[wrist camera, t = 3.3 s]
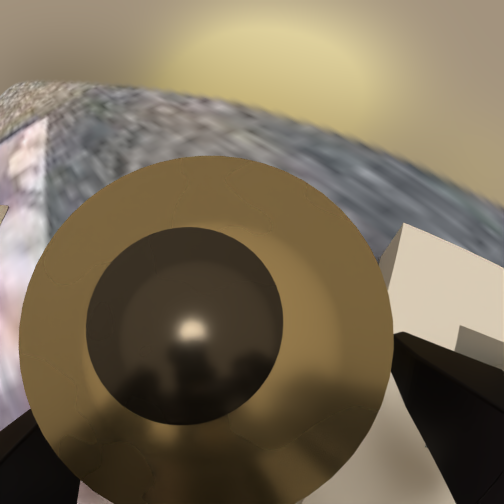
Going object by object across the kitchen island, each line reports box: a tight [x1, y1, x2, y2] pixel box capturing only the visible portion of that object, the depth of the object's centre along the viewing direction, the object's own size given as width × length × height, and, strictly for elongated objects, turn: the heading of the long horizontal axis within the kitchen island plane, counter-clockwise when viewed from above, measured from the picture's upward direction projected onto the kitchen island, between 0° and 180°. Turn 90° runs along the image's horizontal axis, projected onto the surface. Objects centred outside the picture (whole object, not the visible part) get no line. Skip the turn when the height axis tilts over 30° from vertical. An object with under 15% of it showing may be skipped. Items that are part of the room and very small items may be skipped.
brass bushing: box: [19, 156, 394, 504], centre depth 10 cm, size 5×5×13 cm
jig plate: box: [296, 223, 504, 504], centre depth 12 cm, size 14×14×4 cm
